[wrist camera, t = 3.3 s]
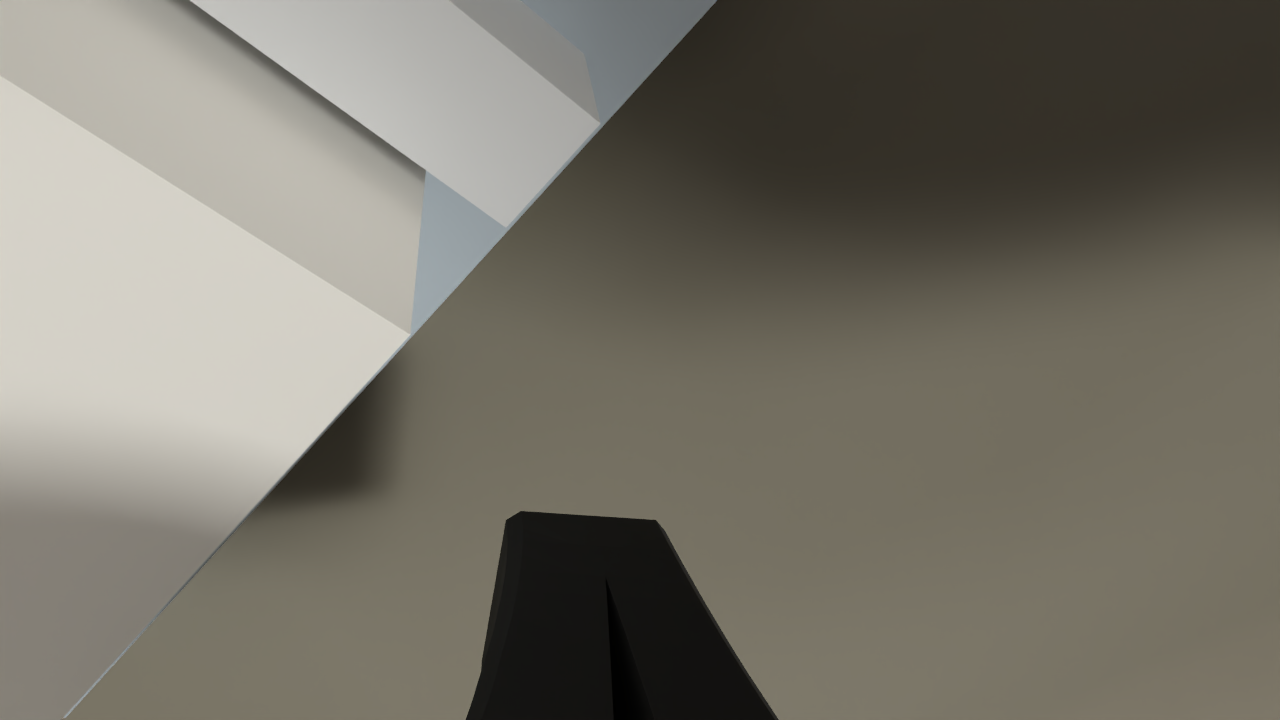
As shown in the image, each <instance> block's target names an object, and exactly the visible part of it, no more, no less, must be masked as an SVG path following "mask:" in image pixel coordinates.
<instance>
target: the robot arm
mask: <svg viewBox="0 0 1280 720" xmlns="http://www.w3.org/2000/svg"><path fill="white" fill-rule="evenodd" d="M466 720H778V718H777V717H776V715H775V714H774V712H773V711H772V709H771V708H770V706H769V704H768V703H767V701H766V700H765V698H764V697H763V695H762V694H761V692H760V691H759V689H758V688H757V686H756V685H755V683H754V682H753V680H752V679H751V677H750V676H749V674H748V673H747V671H746V669H745V668H744V666H743V665H742V663H741V662H740V660H739V658H738V657H737V655H736V654H735V652H734V650H733V649H732V647H731V645H730V644H729V642H728V641H727V639H726V637H725V636H724V634H723V632H722V631H721V629H720V627H719V626H718V624H717V622H716V621H715V619H714V617H713V616H712V614H711V612H710V610H709V609H708V607H707V605H706V604H705V602H704V600H703V599H702V597H701V595H700V593H699V592H698V590H697V588H696V586H695V585H694V583H693V581H692V579H691V578H690V576H689V574H688V572H687V570H686V569H685V567H684V565H683V563H682V561H681V560H680V558H679V556H678V554H677V552H676V551H675V549H674V547H673V545H672V543H671V541H670V539H669V538H668V536H667V534H666V532H665V531H664V529H663V528H662V527H661V526H660V524H659V523H658V522H657V521H656V520H646V519H631V518H616V517H601V516H586V515H571V514H556V513H541V512H526V511H520V512H519V513H517V514H515V515H514V516H512V517H511V518H509V519H507V520H506V524H505V530H504V535H503V541H502V547H501V553H500V559H499V565H498V570H497V576H496V582H495V588H494V594H493V600H492V605H491V611H490V617H489V623H488V629H487V635H486V640H485V646H484V652H483V658H482V669H481V674H480V677H479V681H478V684H477V687H476V691H475V694H474V697H473V700H472V703H471V706H470V709H469V712H468V715H467V718H466Z"/></svg>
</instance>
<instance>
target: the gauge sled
mask: <svg viewBox="0 0 1280 720" xmlns="http://www.w3.org/2000/svg"><path fill="white" fill-rule="evenodd" d="M425 175H426V170H425V169H424V168H422V167H421V166H419V165H418V164H417V163H415V162H414V161H412V160H411V159H410V158H408V157H407V156H405V155H404V154H403V153H401V152H400V151H398V150H397V149H396V148H394V147H393V146H392V145H390V144H389V143H387V142H386V141H385V140H383V139H382V138H380V137H379V136H378V135H376V134H375V133H373V132H372V131H371V130H369V129H368V128H366V127H365V126H364V125H362V124H361V123H360V122H358V121H357V120H355V119H354V118H353V117H351V116H350V115H348V114H347V113H346V112H344V111H343V110H341V109H340V108H339V107H337V106H336V105H335V104H333V103H332V102H330V101H329V100H328V99H326V98H325V97H323V96H322V95H321V94H319V93H318V92H316V91H315V90H314V89H312V88H311V87H309V86H308V85H307V84H305V83H304V82H303V81H301V80H300V79H298V78H297V77H296V76H294V75H293V74H291V73H290V72H289V71H287V70H286V69H284V68H283V67H282V66H280V65H279V64H277V63H276V62H275V61H273V60H272V59H271V58H269V57H268V56H266V55H265V54H264V53H262V52H261V51H259V50H258V49H257V48H255V47H254V46H252V45H251V44H250V43H248V42H247V41H245V40H244V39H243V38H241V37H240V36H239V35H237V34H236V33H234V32H233V31H232V30H230V29H229V28H227V27H226V26H225V25H223V24H222V23H220V22H219V21H218V20H216V19H215V18H213V17H212V16H211V15H209V14H208V13H207V12H205V11H204V10H202V9H201V8H200V7H198V6H197V5H195V4H194V3H193V2H191V1H190V0H0V720H62V718H63V717H64V716H65V715H66V714H67V713H68V712H69V711H70V710H71V708H72V707H73V706H74V705H75V704H76V703H77V702H78V701H79V700H80V699H81V697H82V696H83V695H84V694H85V693H86V692H87V691H88V690H89V689H90V688H91V686H92V685H93V684H94V683H95V682H96V681H97V680H98V679H99V678H100V677H101V675H102V674H103V673H104V672H105V671H106V670H107V669H108V668H109V667H110V665H111V664H112V663H113V662H114V661H115V660H116V659H117V658H118V657H119V656H120V654H121V653H122V652H123V651H124V650H125V649H126V648H127V647H128V646H129V645H130V643H131V642H132V641H133V640H134V639H135V638H136V637H137V636H138V635H139V634H140V632H141V631H142V630H143V629H144V628H145V627H146V626H147V625H148V624H149V622H150V621H151V620H152V619H153V618H154V617H155V616H156V615H157V614H158V613H159V611H160V610H161V609H162V608H163V607H164V606H165V605H166V604H167V603H168V602H169V600H170V599H171V598H172V597H173V596H174V595H175V594H176V593H177V592H178V591H179V589H180V588H181V587H182V586H183V585H184V584H185V583H186V582H187V581H188V579H189V578H190V577H191V576H192V575H193V574H194V573H195V572H196V571H197V570H198V568H199V567H200V566H201V565H202V564H203V563H204V562H205V561H206V560H207V559H208V557H209V556H210V555H211V554H212V553H213V552H214V551H215V550H216V549H217V548H218V546H219V545H220V544H221V543H222V542H223V541H224V540H225V539H226V538H227V536H228V535H229V534H230V533H231V532H232V531H233V530H234V529H235V528H236V527H237V525H238V524H239V523H240V522H241V521H242V520H243V519H244V518H245V517H246V516H247V514H248V513H249V512H250V511H251V510H252V509H253V508H254V507H255V506H256V504H257V503H258V502H259V501H260V500H261V499H262V498H263V497H264V496H265V495H266V493H267V492H268V491H269V490H270V489H271V488H272V487H273V486H274V485H275V484H276V482H277V481H278V480H279V479H280V478H281V477H282V476H283V475H284V474H285V473H286V471H287V470H288V469H289V468H290V467H291V466H292V465H293V464H294V463H295V461H296V460H297V459H298V458H299V457H300V456H301V455H302V454H303V453H304V452H305V450H306V449H307V448H308V447H309V446H310V445H311V444H312V443H313V442H314V441H315V439H316V438H317V437H318V436H319V435H320V434H321V433H322V432H323V431H324V430H325V428H326V427H327V426H328V425H329V424H330V423H331V422H332V421H333V420H334V418H335V417H336V416H337V415H338V414H339V413H340V412H341V411H342V410H343V409H344V407H345V406H346V405H347V404H348V403H349V402H350V401H351V400H352V399H353V398H354V396H355V395H356V394H357V393H358V392H359V391H360V390H361V389H362V388H363V387H364V385H365V384H366V383H367V382H368V381H369V380H370V379H371V378H372V377H373V375H374V374H375V373H376V372H377V371H378V370H379V369H380V368H381V367H382V366H383V364H384V363H385V362H386V361H387V360H388V359H389V358H390V357H391V356H392V355H393V353H394V352H395V351H396V350H397V349H398V348H399V347H400V346H401V345H402V343H403V342H404V341H405V340H406V339H407V338H408V337H409V336H410V334H411V323H412V312H413V302H414V291H415V281H416V270H417V259H418V249H419V238H420V228H421V217H422V206H423V196H424V185H425Z"/></svg>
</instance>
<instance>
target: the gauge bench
mask: <svg viewBox="0 0 1280 720" xmlns="http://www.w3.org/2000/svg"><path fill="white" fill-rule="evenodd" d="M190 1H191V2H193V3H194V4H195V5H197V6H198V7H200V8H201V9H202V10H204V11H205V12H207V13H208V14H209V15H211V16H212V17H213V18H215V19H216V20H218V21H219V22H220V23H222V24H223V25H225V26H226V27H227V28H229V29H230V30H232V31H233V32H234V33H236V34H237V35H239V36H240V37H241V38H243V39H244V40H245V41H247V42H248V43H250V44H251V45H252V46H254V47H255V48H257V49H258V50H259V51H261V52H262V53H264V54H265V55H266V56H268V57H269V58H271V59H272V60H273V61H275V62H276V63H277V64H279V65H280V66H282V67H283V68H284V69H286V70H287V71H289V72H290V73H291V74H293V75H294V76H296V77H297V78H298V79H300V80H301V81H303V82H304V83H305V84H307V85H308V86H309V87H311V88H312V89H314V90H315V91H316V92H318V93H319V94H321V95H322V96H323V97H325V98H326V99H328V100H329V101H330V102H332V103H333V104H335V105H336V106H337V107H339V108H340V109H341V110H343V111H344V112H346V113H347V114H348V115H350V116H351V117H353V118H354V119H355V120H357V121H358V122H360V123H361V124H362V125H364V126H365V127H366V128H368V129H369V130H371V131H372V132H373V133H375V134H376V135H378V136H379V137H380V138H382V139H383V140H385V141H386V142H387V143H389V144H390V145H392V146H393V147H394V148H396V149H397V150H398V151H400V152H401V153H403V154H404V155H405V156H407V157H408V158H410V159H411V160H412V161H414V162H415V163H417V164H418V165H419V166H421V167H422V168H424V169H425V170H426V175H425V185H424V196H423V206H422V217H421V228H420V238H419V249H418V259H417V270H416V281H415V291H414V302H413V312H412V323H411V334H410V336H409V337H408V338H407V339H406V340H405V341H404V342H403V343H402V345H401V346H400V347H399V348H398V349H397V350H396V351H395V352H394V353H393V355H392V356H391V357H390V358H389V359H388V360H387V361H386V362H385V363H384V364H383V366H382V367H381V368H380V369H379V370H378V371H377V372H376V373H375V374H374V375H373V377H372V378H371V379H370V380H369V381H368V382H367V383H366V384H365V385H364V387H363V388H362V389H361V390H360V391H359V392H358V393H357V394H356V395H355V396H354V398H353V399H352V400H351V401H350V402H349V403H348V404H347V405H346V406H345V407H344V409H343V410H342V411H341V412H340V413H339V414H338V415H337V416H336V417H335V418H334V420H333V421H332V422H331V423H330V424H329V425H328V426H327V427H326V428H325V430H324V431H323V432H322V433H321V434H320V435H319V436H318V437H317V438H316V439H315V441H314V442H313V443H312V444H311V445H310V446H309V447H308V448H307V449H306V450H305V452H304V453H303V454H302V455H301V456H300V457H299V458H298V459H297V460H296V461H295V463H294V464H293V465H292V466H291V467H290V468H289V469H288V470H287V471H286V473H285V474H284V475H283V476H282V477H281V478H280V479H279V480H278V481H277V482H276V484H275V485H274V486H273V487H272V488H271V489H270V490H269V491H268V492H267V493H266V495H265V496H264V497H263V498H262V499H261V500H260V501H259V502H258V503H257V504H256V506H255V507H254V508H253V509H252V510H251V511H250V512H249V513H248V514H247V516H246V517H245V518H244V519H243V520H242V521H241V522H240V523H239V524H238V525H237V527H236V528H235V529H234V530H233V531H232V532H231V533H230V534H229V535H228V536H227V538H226V539H225V540H224V541H223V542H222V543H221V544H220V545H219V546H218V548H217V549H216V550H215V551H214V552H213V553H212V554H211V555H210V556H209V557H208V559H207V560H206V561H205V562H204V563H203V564H202V565H201V566H200V567H199V568H198V570H197V571H196V572H195V573H194V574H193V575H192V576H191V577H190V578H189V579H188V581H187V582H186V583H185V584H184V585H183V586H182V587H181V588H180V589H179V591H178V592H177V593H176V594H175V595H174V596H173V597H172V598H171V599H170V600H169V602H168V603H167V604H166V605H165V606H164V607H163V608H162V609H161V610H160V611H159V613H158V614H157V615H156V616H155V617H154V618H153V619H152V620H151V621H150V622H149V624H148V625H147V626H146V627H145V628H144V629H143V630H142V631H141V632H140V634H139V635H138V636H137V637H136V638H135V639H134V640H133V641H132V642H131V643H130V645H129V646H128V647H127V648H126V649H125V650H124V651H123V652H122V653H121V654H120V656H119V657H118V658H117V659H116V660H115V661H114V662H113V663H112V664H111V665H110V667H109V668H108V669H107V670H106V671H105V672H104V673H103V674H102V675H101V677H100V678H99V679H98V680H97V681H96V682H95V683H94V684H93V685H92V686H91V688H90V689H89V690H88V691H87V692H86V693H85V694H84V695H83V696H82V697H81V699H80V700H79V701H78V702H77V703H76V704H75V705H74V706H73V707H72V708H71V710H70V711H69V712H68V713H67V714H66V715H65V716H64V717H63V718H66V717H67V716H68V715H69V713H70V712H71V711H72V710H73V709H74V708H75V707H76V706H77V705H78V704H79V702H80V701H81V700H82V699H83V698H84V697H85V696H86V695H87V694H88V693H89V691H90V690H91V689H92V688H93V687H94V686H95V685H96V684H97V683H98V682H99V680H100V679H101V678H102V677H103V676H104V675H105V674H106V673H107V672H108V671H109V669H110V668H111V667H112V666H113V665H114V664H115V663H116V662H117V661H118V660H119V658H120V657H121V656H122V655H123V654H124V653H125V652H126V651H127V650H128V648H129V647H130V646H131V645H132V644H133V643H134V642H135V641H136V640H137V639H138V637H139V636H140V635H141V634H142V633H143V632H144V631H145V630H146V629H147V628H148V626H149V625H150V624H151V623H152V622H153V621H154V620H155V619H156V618H157V617H158V615H159V614H160V613H161V612H162V611H163V610H164V609H165V608H166V607H167V606H168V604H169V603H170V602H171V601H172V600H173V599H174V598H175V597H176V596H177V595H178V593H179V592H180V591H181V590H182V589H183V588H184V587H185V586H186V585H187V584H188V582H189V581H190V580H191V579H192V578H193V577H194V576H195V575H196V574H197V573H198V571H199V570H200V569H201V568H202V567H203V566H204V565H205V564H206V563H207V562H208V560H209V559H210V558H211V557H212V556H213V555H214V554H215V553H216V552H217V551H218V549H219V548H220V547H221V546H222V545H223V544H224V543H225V542H226V541H227V540H228V538H229V537H230V536H231V535H232V534H233V533H234V532H235V531H236V530H237V528H238V527H239V526H240V525H241V524H242V523H243V522H244V521H245V520H246V519H247V517H248V516H249V515H250V514H251V513H252V512H253V511H254V510H255V509H256V508H257V506H258V505H259V504H260V503H261V502H262V501H263V500H264V499H265V498H266V497H267V495H268V494H269V493H270V492H271V491H272V490H273V489H274V488H275V487H276V486H277V484H278V483H279V482H280V481H281V480H282V479H283V478H284V477H285V476H286V475H287V473H288V472H289V471H290V470H291V469H292V468H293V467H294V466H295V465H296V464H297V462H298V461H299V460H300V459H301V458H302V457H303V456H304V455H305V454H306V453H307V451H308V450H309V449H310V448H311V447H312V446H313V445H314V444H315V443H316V442H317V440H318V439H319V438H320V437H321V436H322V435H323V434H324V433H325V432H326V431H327V429H328V428H329V427H330V426H331V425H332V424H333V423H334V422H335V421H336V419H337V418H338V417H339V416H340V415H341V414H342V413H343V412H344V411H345V410H346V408H347V407H348V406H349V405H350V404H351V403H352V402H353V401H354V400H355V399H356V397H357V396H358V395H359V394H360V393H361V392H362V391H363V390H364V389H365V388H366V386H367V385H368V384H369V383H370V382H371V381H372V380H373V379H374V378H375V377H376V375H377V374H378V373H379V372H380V371H381V370H382V369H383V368H384V367H385V366H386V364H387V363H388V362H389V361H390V360H391V359H392V358H393V357H394V356H395V355H396V353H397V352H398V351H399V350H400V349H401V348H402V347H403V346H404V345H405V344H406V342H407V341H408V340H409V339H410V338H411V337H412V336H413V335H414V334H415V333H416V331H417V330H418V329H419V328H420V327H421V326H422V325H423V324H424V323H425V322H426V320H427V319H428V318H429V317H430V316H431V315H432V314H433V313H434V312H435V310H436V309H437V308H438V307H439V306H440V305H441V304H442V303H443V302H444V301H445V299H446V298H447V297H448V296H449V295H450V294H451V293H452V292H453V291H454V290H455V288H456V287H457V286H458V285H459V284H460V283H461V282H462V281H463V280H464V279H465V277H466V276H467V275H468V274H469V273H470V272H471V271H472V270H473V269H474V268H475V266H476V265H477V264H478V263H479V262H480V261H481V260H482V259H483V258H484V257H485V255H486V254H487V253H488V252H489V251H490V250H491V249H492V248H493V247H494V246H495V244H496V243H497V242H498V241H499V240H500V239H501V238H502V237H503V236H504V235H505V233H506V232H507V231H508V230H509V229H510V228H511V227H512V226H513V225H514V224H515V222H516V221H517V220H518V219H519V218H520V217H521V216H522V215H523V214H524V213H525V211H526V210H527V209H528V208H529V207H530V206H531V205H532V204H533V203H534V202H535V200H536V199H537V198H538V197H539V196H540V195H541V194H542V193H543V192H544V190H545V189H546V188H547V187H548V186H549V185H550V184H551V183H552V182H553V181H554V179H555V178H556V177H557V176H558V175H559V174H560V173H561V172H562V171H563V170H564V168H565V167H566V166H567V165H568V164H569V163H570V162H571V161H572V160H573V159H574V157H575V156H576V155H577V154H578V153H579V152H580V151H581V150H582V149H583V148H584V146H585V145H586V144H587V143H588V142H589V141H590V140H591V139H592V138H593V137H594V135H595V134H596V133H597V132H598V131H599V130H600V129H601V128H602V127H603V126H604V124H605V123H606V122H607V121H608V120H609V119H610V118H611V117H612V116H613V115H614V113H615V112H616V111H617V110H618V109H619V108H620V107H621V106H622V105H623V104H624V102H625V101H626V100H627V99H628V98H629V97H630V96H631V95H632V94H633V93H634V91H635V90H636V89H637V88H638V87H639V86H640V85H641V84H642V83H643V81H644V80H645V79H646V78H647V77H648V76H649V75H650V74H651V73H652V72H653V70H654V69H655V68H656V67H657V66H658V65H659V64H660V63H661V62H662V61H663V59H664V58H665V57H666V56H667V55H668V54H669V53H670V52H671V51H672V50H673V48H674V47H675V46H676V45H677V44H678V43H679V42H680V41H681V40H682V39H683V37H684V36H685V35H686V34H687V33H688V32H689V31H690V30H691V29H692V28H693V26H694V25H695V24H696V23H697V22H698V21H699V20H700V19H701V18H702V17H703V15H704V14H705V13H706V12H707V11H708V10H709V9H710V8H711V7H712V6H713V4H714V3H715V2H716V1H717V0H190Z"/></svg>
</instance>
